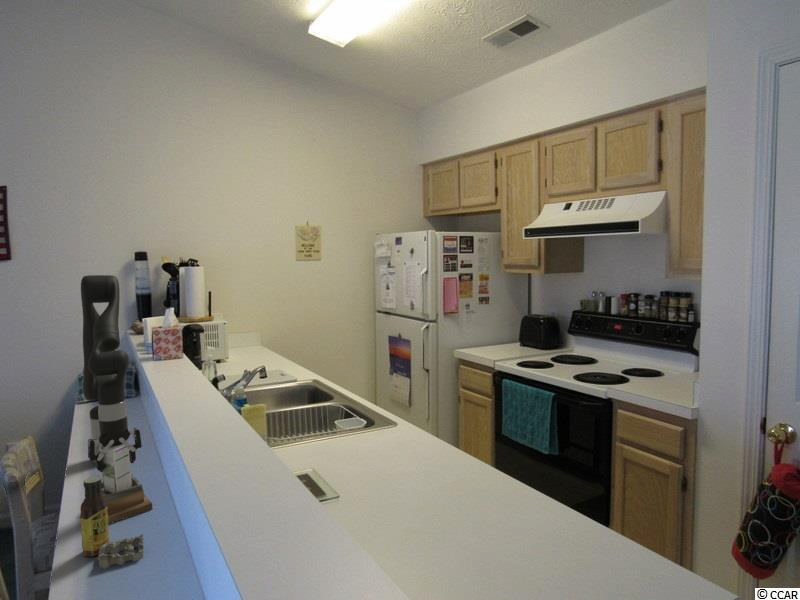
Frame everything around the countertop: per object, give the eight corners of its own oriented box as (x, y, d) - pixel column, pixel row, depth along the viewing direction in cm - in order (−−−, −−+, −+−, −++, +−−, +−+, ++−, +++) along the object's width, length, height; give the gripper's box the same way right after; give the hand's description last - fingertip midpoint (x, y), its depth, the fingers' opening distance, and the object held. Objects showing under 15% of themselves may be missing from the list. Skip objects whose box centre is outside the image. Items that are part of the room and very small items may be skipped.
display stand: (87, 506, 161) (85, 483, 160) (136, 491, 170) (134, 469, 169) (101, 526, 149) (99, 502, 148) (152, 509, 159) (150, 486, 158)
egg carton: (96, 572, 130) (95, 556, 129) (101, 555, 136) (99, 540, 136) (143, 561, 134) (142, 546, 133) (145, 545, 140) (144, 531, 140)
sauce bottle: (97, 559, 134) (91, 487, 132) (76, 556, 135) (70, 484, 133) (115, 544, 140) (110, 475, 138) (96, 542, 142) (90, 473, 139)
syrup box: (132, 486, 161) (129, 442, 159) (116, 495, 155) (112, 449, 154) (119, 483, 163) (115, 439, 161) (102, 492, 157) (99, 446, 156)
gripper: (134, 407, 164) (137, 456, 166) (83, 418, 154) (87, 470, 156) (142, 413, 158) (145, 463, 160) (89, 425, 149) (93, 478, 151)
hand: (116, 466), depth 158 cm, fingers open, 8 cm apart
